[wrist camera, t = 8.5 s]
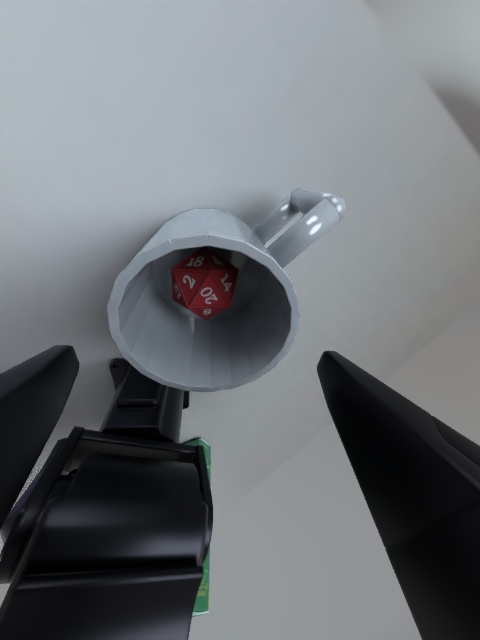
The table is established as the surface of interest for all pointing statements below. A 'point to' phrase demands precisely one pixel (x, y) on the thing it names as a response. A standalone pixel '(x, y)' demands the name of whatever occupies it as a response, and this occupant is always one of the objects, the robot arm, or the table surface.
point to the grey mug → (247, 303)
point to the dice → (204, 283)
